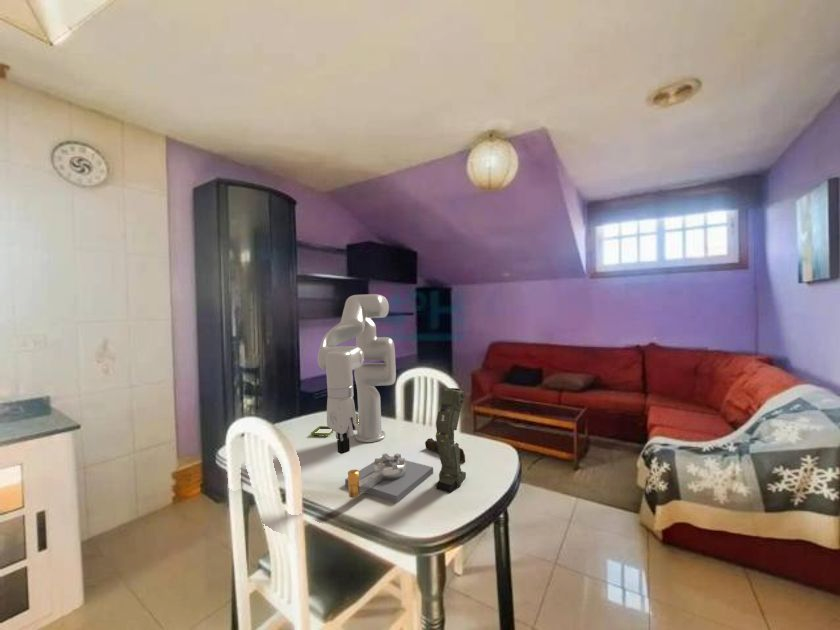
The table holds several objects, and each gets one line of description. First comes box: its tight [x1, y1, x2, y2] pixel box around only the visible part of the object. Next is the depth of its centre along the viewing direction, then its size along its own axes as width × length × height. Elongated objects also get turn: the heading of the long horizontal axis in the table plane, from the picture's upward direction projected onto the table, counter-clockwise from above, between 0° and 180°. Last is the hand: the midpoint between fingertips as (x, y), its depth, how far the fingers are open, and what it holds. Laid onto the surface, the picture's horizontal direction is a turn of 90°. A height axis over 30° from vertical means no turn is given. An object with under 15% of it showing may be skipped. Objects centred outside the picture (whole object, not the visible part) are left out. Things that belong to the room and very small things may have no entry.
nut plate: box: [344, 455, 434, 504], centre depth 112 cm, size 20×20×2 cm
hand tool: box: [424, 437, 466, 463], centre depth 128 cm, size 19×4×5 cm, turn 38°
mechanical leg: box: [435, 387, 467, 494], centre depth 109 cm, size 14×7×30 cm, turn 148°
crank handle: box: [347, 453, 406, 499], centre depth 106 cm, size 22×10×7 cm, turn 146°
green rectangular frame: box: [310, 425, 335, 437], centre depth 156 cm, size 9×9×2 cm
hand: (343, 451), depth 105 cm, fingers closed
